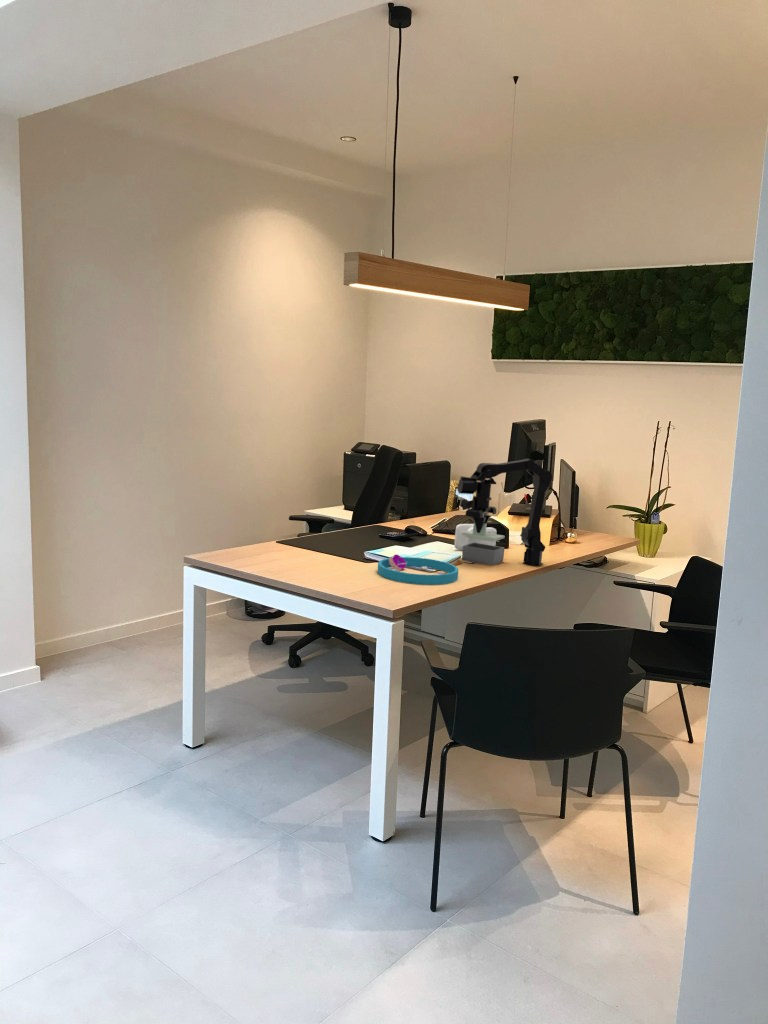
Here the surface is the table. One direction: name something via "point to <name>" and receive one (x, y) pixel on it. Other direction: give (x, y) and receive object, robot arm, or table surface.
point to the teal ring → (401, 562)
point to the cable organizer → (463, 540)
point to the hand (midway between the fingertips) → (479, 532)
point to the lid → (482, 534)
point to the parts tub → (483, 553)
